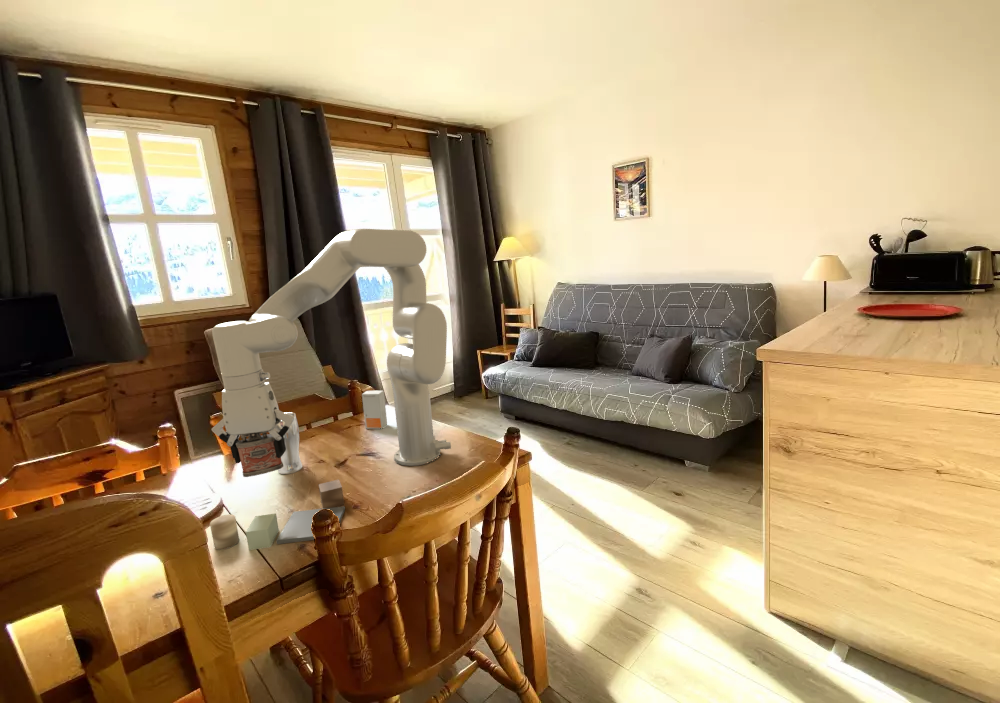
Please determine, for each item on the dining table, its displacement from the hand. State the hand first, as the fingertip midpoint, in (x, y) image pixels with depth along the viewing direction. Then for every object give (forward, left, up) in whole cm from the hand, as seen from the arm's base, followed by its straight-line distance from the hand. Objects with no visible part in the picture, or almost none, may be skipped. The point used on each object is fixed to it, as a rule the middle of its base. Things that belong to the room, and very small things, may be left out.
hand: (260, 457), depth 105 cm
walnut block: (-13, -1, -13) cm, 19 cm away
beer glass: (+3, -23, -13) cm, 27 cm away
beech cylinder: (+5, +11, -13) cm, 18 cm away
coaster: (-11, +8, -13) cm, 19 cm away
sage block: (-5, +11, -11) cm, 16 cm away
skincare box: (-16, -51, -13) cm, 56 cm away
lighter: (0, 0, -3) cm, 3 cm away
